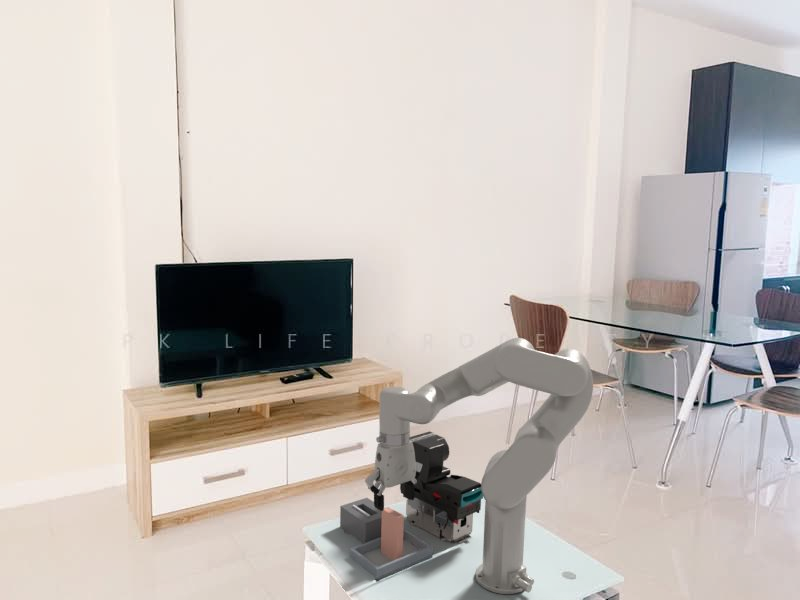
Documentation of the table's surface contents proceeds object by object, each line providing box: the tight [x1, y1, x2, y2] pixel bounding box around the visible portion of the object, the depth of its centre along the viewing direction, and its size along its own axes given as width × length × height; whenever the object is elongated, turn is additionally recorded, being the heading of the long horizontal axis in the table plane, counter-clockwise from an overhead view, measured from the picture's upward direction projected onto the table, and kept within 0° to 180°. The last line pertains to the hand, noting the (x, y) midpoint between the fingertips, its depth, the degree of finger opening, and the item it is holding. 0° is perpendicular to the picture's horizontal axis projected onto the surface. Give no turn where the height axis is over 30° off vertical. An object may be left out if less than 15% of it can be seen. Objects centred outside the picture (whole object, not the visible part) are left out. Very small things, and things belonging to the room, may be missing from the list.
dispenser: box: [339, 497, 382, 544], centre depth 165 cm, size 12×9×7 cm
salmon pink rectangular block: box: [380, 506, 405, 561], centre depth 152 cm, size 6×2×12 cm, turn 43°
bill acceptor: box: [399, 430, 484, 544], centre depth 167 cm, size 10×23×25 cm, turn 44°
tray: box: [349, 528, 434, 582], centre depth 153 cm, size 12×18×3 cm, turn 129°
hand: (394, 503), depth 151 cm, fingers open, 9 cm apart
